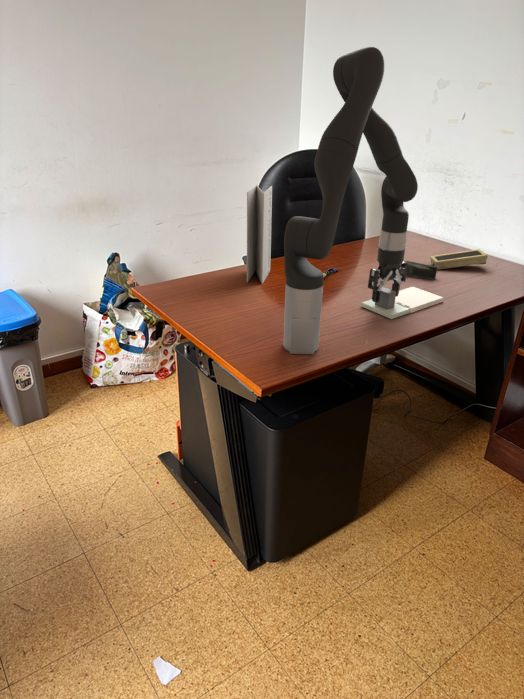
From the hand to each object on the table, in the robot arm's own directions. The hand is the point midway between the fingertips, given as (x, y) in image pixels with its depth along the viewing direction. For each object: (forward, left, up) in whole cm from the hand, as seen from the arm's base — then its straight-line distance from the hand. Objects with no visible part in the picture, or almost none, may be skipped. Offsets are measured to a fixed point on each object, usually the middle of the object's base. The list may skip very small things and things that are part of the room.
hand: (385, 298), depth 158 cm
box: (+44, -35, -4) cm, 56 cm away
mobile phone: (+33, -17, -4) cm, 38 cm away
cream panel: (+8, -10, -4) cm, 13 cm away
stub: (0, 0, -3) cm, 4 cm away
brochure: (+29, +39, -4) cm, 48 cm away
